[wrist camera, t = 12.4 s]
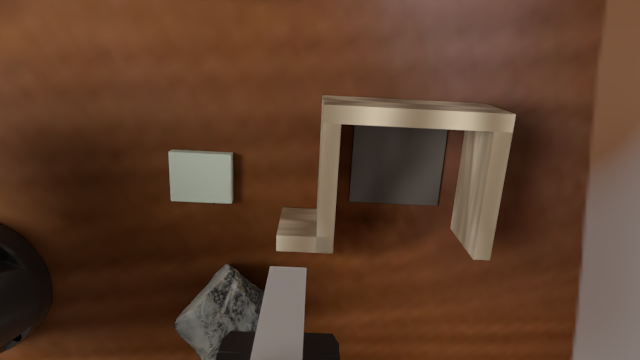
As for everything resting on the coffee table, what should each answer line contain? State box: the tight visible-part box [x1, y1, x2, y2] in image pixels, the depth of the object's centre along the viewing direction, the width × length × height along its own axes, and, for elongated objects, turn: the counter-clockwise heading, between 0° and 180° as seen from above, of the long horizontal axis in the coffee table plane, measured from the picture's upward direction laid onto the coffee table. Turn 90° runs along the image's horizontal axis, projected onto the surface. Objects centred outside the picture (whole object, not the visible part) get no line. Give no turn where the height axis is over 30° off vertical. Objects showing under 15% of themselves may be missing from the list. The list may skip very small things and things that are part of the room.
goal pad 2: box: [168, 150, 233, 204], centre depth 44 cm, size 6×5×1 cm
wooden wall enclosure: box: [276, 95, 516, 260], centre depth 43 cm, size 19×32×7 cm, turn 177°
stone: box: [174, 264, 265, 360], centre depth 45 cm, size 10×10×10 cm
